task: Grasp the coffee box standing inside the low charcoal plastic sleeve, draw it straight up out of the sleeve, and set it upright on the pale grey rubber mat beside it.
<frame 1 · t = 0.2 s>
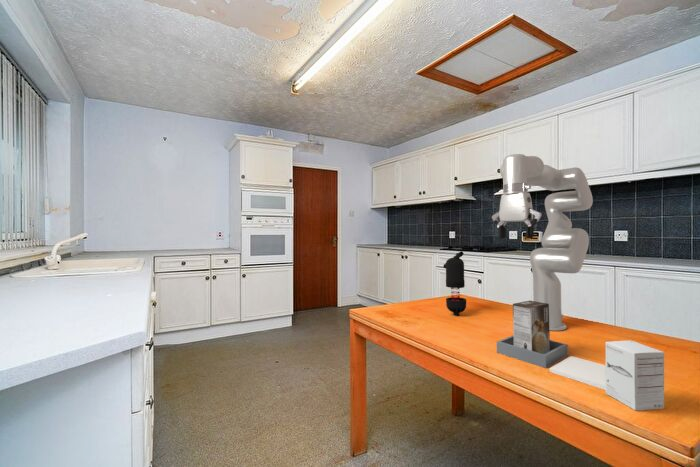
hand: (515, 238, 112), 36 cm above the table, tool pointing down, fingers open, 9 cm apart
supplement box: (633, 402, 72), on the table
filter: (454, 315, 147), on the table
coffee box: (531, 354, 99), resting in packet holder
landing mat: (589, 374, 85), on the table
packet holder: (531, 354, 99), on the table
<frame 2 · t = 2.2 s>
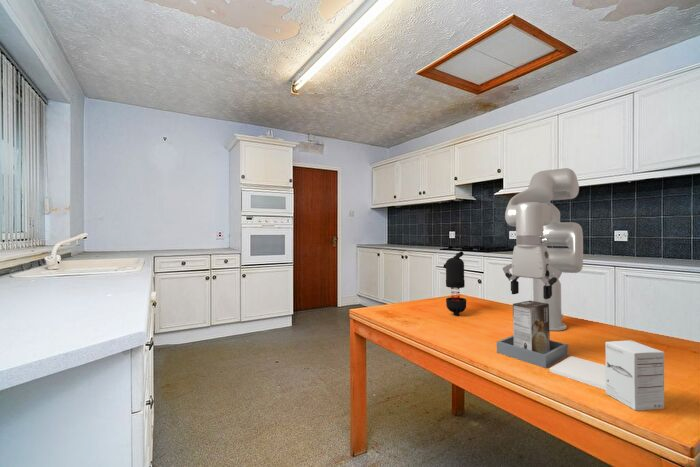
hand: (530, 296, 99), 18 cm above the table, tool pointing down, fingers open, 9 cm apart
nothing on the table moved.
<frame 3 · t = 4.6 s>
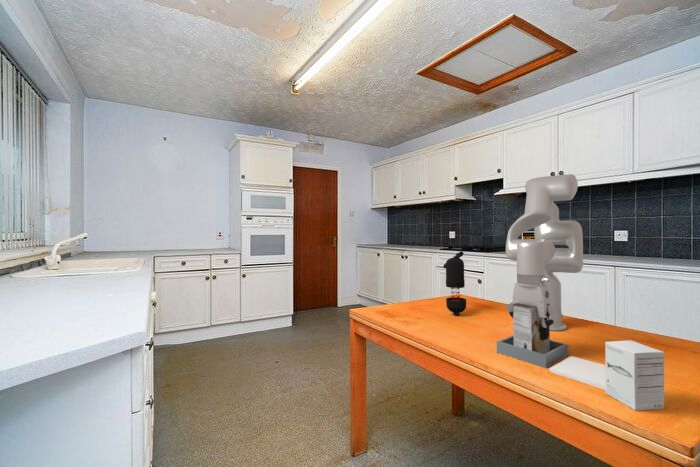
hand: (531, 335, 99), 6 cm above the table, tool pointing down, fingers closed on coffee box, 6 cm apart
coffee box: (531, 354, 99), resting in packet holder, touching gripper
everything else where it was.
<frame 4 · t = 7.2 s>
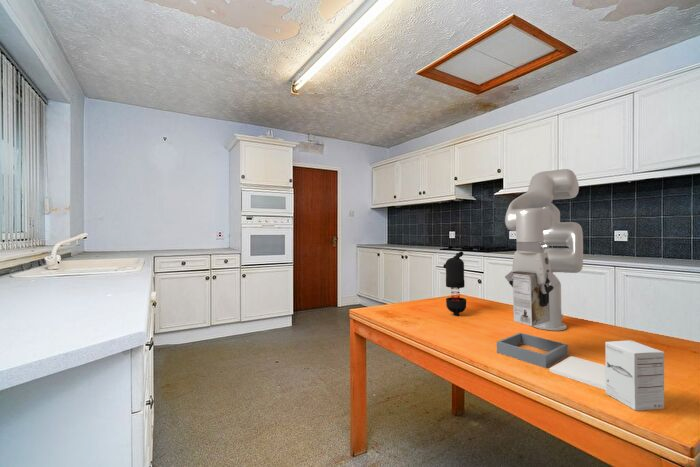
hand: (531, 303, 100), 16 cm above the table, tool pointing down, fingers closed on coffee box, 6 cm apart
coffee box: (531, 322, 100), point 10 cm above the table, touching gripper
everything else where it was.
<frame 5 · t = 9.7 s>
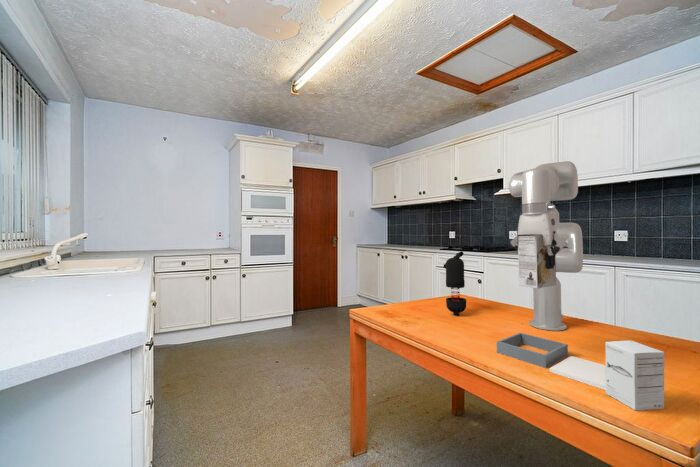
hand: (536, 267, 97), 28 cm above the table, tool pointing down, fingers closed on coffee box, 6 cm apart
coffee box: (537, 286, 97), point 22 cm above the table, touching gripper
everything else where it was.
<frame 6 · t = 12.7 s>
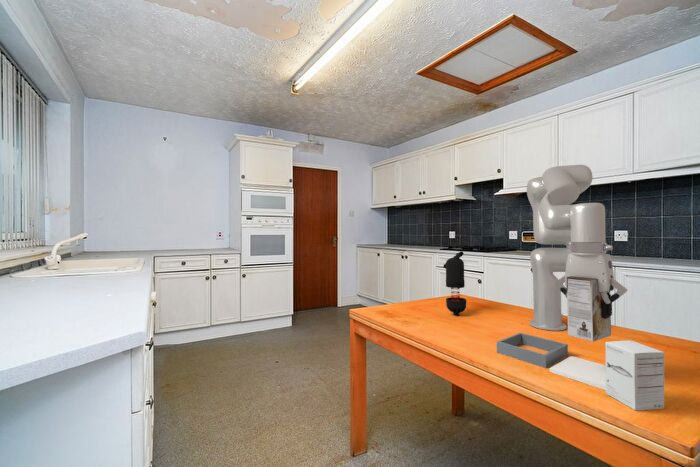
hand: (588, 314, 85), 16 cm above the table, tool pointing down, fingers closed on coffee box, 6 cm apart
coffee box: (589, 336, 85), point 10 cm above the table, touching gripper
everything else where it was.
when the fingers open (9 cm above the table, at t = 15.1 s): coffee box drops 2 cm, resting on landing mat.
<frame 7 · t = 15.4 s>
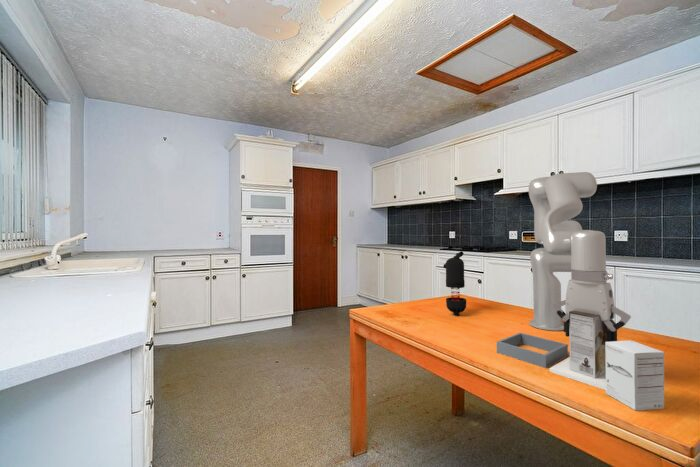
hand: (589, 340, 85), 9 cm above the table, tool pointing down, fingers open, 9 cm apart
coffee box: (590, 371, 85), point 1 cm above the table, touching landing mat
everything else where it was.
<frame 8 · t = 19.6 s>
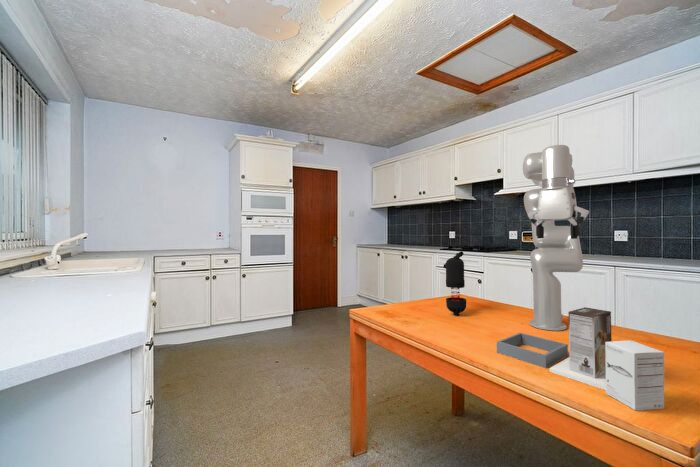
hand: (556, 238, 101), 36 cm above the table, tool pointing down, fingers open, 9 cm apart
nothing on the table moved.
at the end: coffee box inside the target area on the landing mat (0.2 cm from its centre), point 0.8 cm above the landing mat's base; coffee box tilted 0°; the gripper is holding nothing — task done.
